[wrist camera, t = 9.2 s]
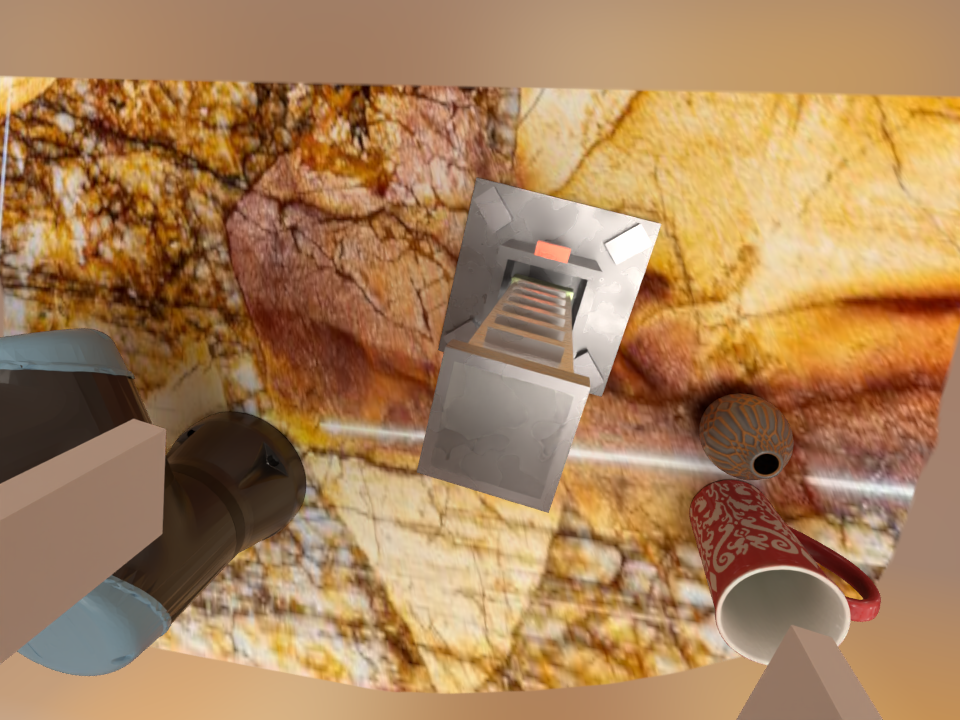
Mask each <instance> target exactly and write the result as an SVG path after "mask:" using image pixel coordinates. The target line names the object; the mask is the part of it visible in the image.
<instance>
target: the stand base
mask: <svg viewBox="0 0 960 720" xmlns="http://www.w3.org/2000/svg"><path fill="white" fill-rule="evenodd" d="M660 227H661V224H659V223H655V222H651V221H647V220H643V219H639V218H636V217H632V216H628V215H624V214H620V213H616V212H612V211H608V210H604V209H600V208H596V207H592V206H588V205H584V204H580V203H576V202H572V201H568V200H564V199H560V198H556V197H552V196H548V195H544V194H540V193H536V192H532V191H528V190H524V189H520V188H516V187H512V186H508V185H504V184H501V183H497V182H493V181H489V180H485V179H481V178H476V183H475V187H474V192H473V196H472V201H471V205H470V210H469V214H468V219H467V223H466V228H465V232H464V237H463V241H462V246H461V250H460V255H459V259H458V264H457V268H456V273H455V277H454V282H453V286H452V290H451V295H450V299H449V304H448V308H447V313H446V317H445V322H444V326H443V331H442V335H441V340H440V344H439V349H438V350H439V351H443V352H444V350H445V346H446V345H447V344H448V343H449V342H450V341H451V339H455V340H458V341H462V342H465V343H468V342H469V341H470V339H471V338H472V337H473V335H474V334H475V333H476V331H477V330H478V329H479V327H480V326H481V325H482V323H483V322H484V320H485V319H486V318H487V316H488V315H489V314H490V312H491V311H492V310H493V308H494V307H495V305H496V304H497V303H498V301H499V300H500V299H501V297H502V296H503V295H504V293H505V292H506V291H507V289H508V288H509V286H510V285H511V283H512V279H513V276H514V275H515V274H520V275H524V276H527V277H531V278H535V279H539V280H542V281H546V282H550V283H554V284H557V285H561V286H565V287H569V288H572V289H573V296H572V300H571V316H572V342H573V368H574V373H575V374H579V375H582V376H586V377H589V379H590V386H591V388H590V391H589V393H591V394H594V395H598V396H601V397H602V394H603V391H604V388H605V385H606V382H607V379H608V377H609V374H610V371H611V368H612V365H613V362H614V359H615V356H616V353H617V351H618V348H619V345H620V342H621V339H622V336H623V333H624V330H625V328H626V325H627V322H628V319H629V316H630V313H631V310H632V307H633V304H634V302H635V299H636V296H637V293H638V290H639V287H640V284H641V281H642V279H643V276H644V273H645V270H646V267H647V264H648V261H649V258H650V255H651V253H652V250H653V247H654V244H655V241H656V238H657V235H658V232H659V230H660Z"/></svg>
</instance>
